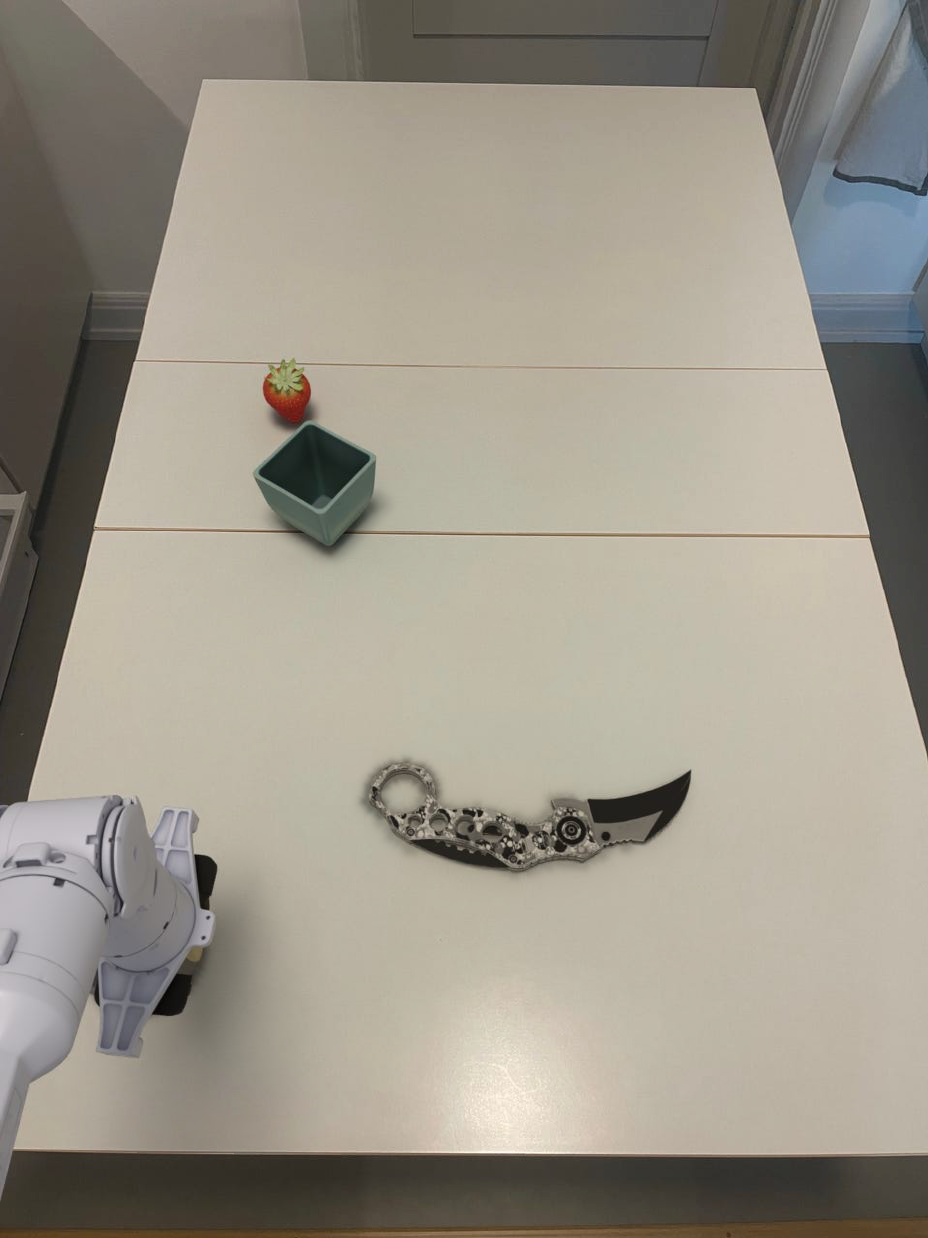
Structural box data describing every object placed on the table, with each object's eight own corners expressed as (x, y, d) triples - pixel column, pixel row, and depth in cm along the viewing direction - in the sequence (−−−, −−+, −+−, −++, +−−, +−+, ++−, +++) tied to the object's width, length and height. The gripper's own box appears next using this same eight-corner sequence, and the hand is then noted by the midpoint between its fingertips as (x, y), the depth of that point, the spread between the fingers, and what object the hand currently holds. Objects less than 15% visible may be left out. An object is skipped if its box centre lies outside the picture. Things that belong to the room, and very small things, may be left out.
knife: (693, 765, 78) (704, 877, 73) (689, 773, 80) (699, 883, 74) (374, 748, 79) (360, 857, 73) (375, 755, 80) (362, 864, 74)
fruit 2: (277, 441, 99) (265, 388, 92) (264, 408, 101) (251, 354, 94) (321, 429, 100) (312, 375, 93) (307, 396, 102) (298, 342, 95)
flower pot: (265, 529, 92) (249, 472, 85) (319, 475, 96) (308, 417, 88) (331, 569, 90) (321, 514, 82) (383, 512, 94) (378, 455, 86)
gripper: (160, 1053, 46) (217, 1073, 58) (224, 789, 54) (263, 854, 65) (28, 1040, 46) (111, 1062, 58) (110, 778, 54) (169, 844, 66)
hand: (185, 951), depth 62 cm, fingers closed on fruit 1, 4 cm apart
